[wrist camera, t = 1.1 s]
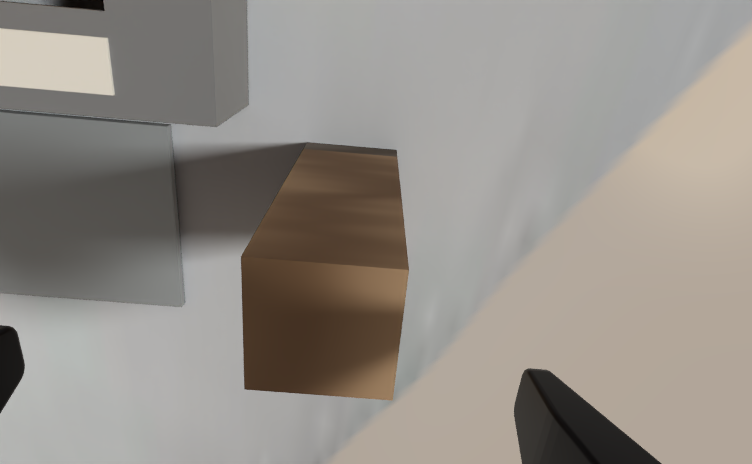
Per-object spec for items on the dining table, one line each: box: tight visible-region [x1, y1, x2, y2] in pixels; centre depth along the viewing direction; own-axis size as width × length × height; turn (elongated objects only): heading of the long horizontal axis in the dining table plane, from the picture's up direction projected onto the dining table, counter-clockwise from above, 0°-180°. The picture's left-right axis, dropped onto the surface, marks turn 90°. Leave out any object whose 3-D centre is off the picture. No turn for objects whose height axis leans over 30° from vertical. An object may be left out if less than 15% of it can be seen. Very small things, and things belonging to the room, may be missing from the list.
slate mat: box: [0, 110, 185, 307], centre depth 21 cm, size 10×8×1 cm
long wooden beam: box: [241, 142, 409, 400], centre depth 16 cm, size 4×4×10 cm
